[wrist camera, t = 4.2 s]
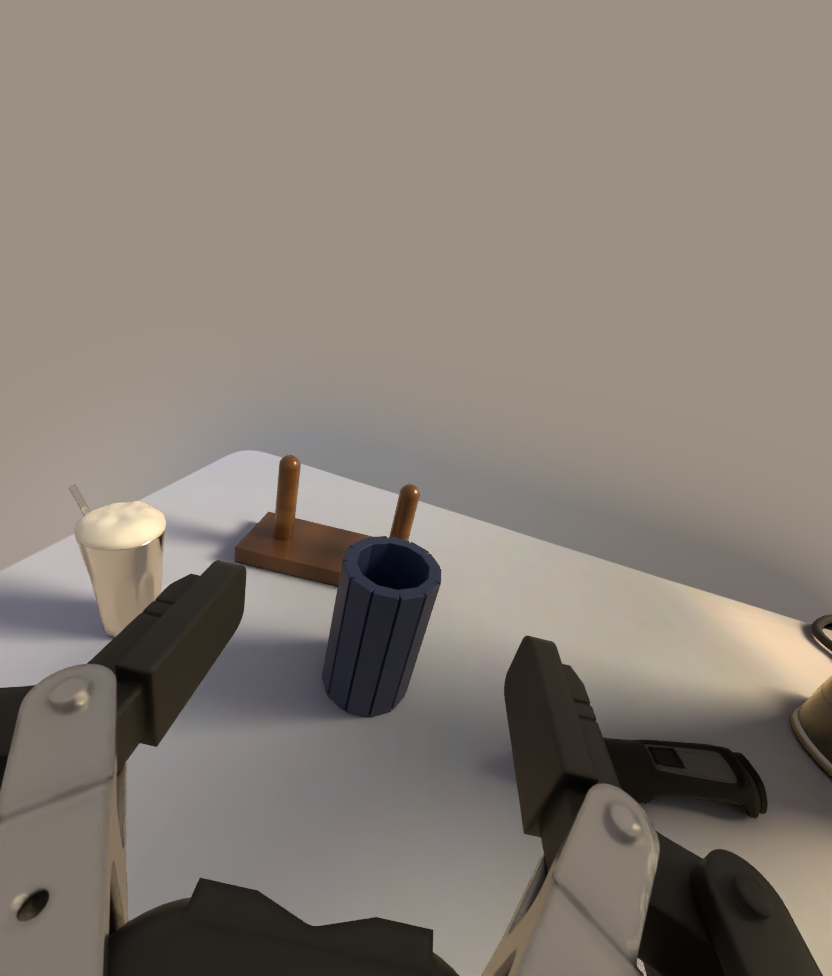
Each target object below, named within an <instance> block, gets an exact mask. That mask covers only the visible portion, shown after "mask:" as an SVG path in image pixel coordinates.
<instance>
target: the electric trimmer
mask: <svg viewBox="0 0 832 976" xmlns="http://www.w3.org/2000/svg"><path fill="white" fill-rule="evenodd" d="M603 739H604V742H605V745H606V748H607V750H608V753H609V756H610V759H611V762H612V764H613V767H614V770H615V773H616V775H617V778H618V781H619V784H620V786H621V788H622V790H623V791H624V792H626V793H627V794H628V795H630V796H631V797H632V798H633V799H634V800H635V801H636V802H637V803H648V802H650V801H651V800H653V799H655V798H657V797H659V796H664V795H670V796H678V797H686V798H694V799H701V800H709V801H717V802H725V803H732V804H736V805H740V806H741V808H742V809H743V811H744V812H745V813H746V815H747V816H749V817H752V818H757V817H758V815H759V814H765V813H766V812H767V805H768V803H767V795H766V791H765V787H764V784H763V782H762V780H761V778H760V776H759V775H758V773H757V772H756V770H755V769H754V768H753V766H752V765H751V763H750V762H749V761H748V760H747V759H746V757H745V756H744V755H743V754H741V753H737V752H732V751H731V750H729V749H728V748H725V747H720V746H713V745H707V744H696V743H683V742H670V741H657V740H621V739H609V738H603Z"/></svg>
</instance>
